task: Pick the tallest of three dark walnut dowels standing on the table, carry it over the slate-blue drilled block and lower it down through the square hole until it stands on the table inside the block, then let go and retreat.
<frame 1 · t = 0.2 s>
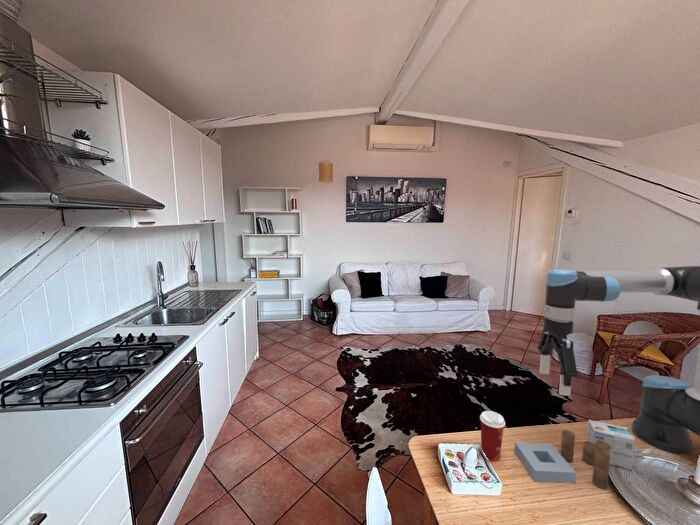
hand: (553, 383, 93), 27 cm above the table, fingers open, 13 cm apart
tall walnut dowel: (599, 484, 88), on the table
light bulb box: (607, 458, 98), on the table
paper cup: (490, 455, 99), on the table
short walnut dowel: (589, 461, 96), on the table
medium walnut dowel: (566, 458, 98), on the table
drilled block: (542, 466, 94), on the table
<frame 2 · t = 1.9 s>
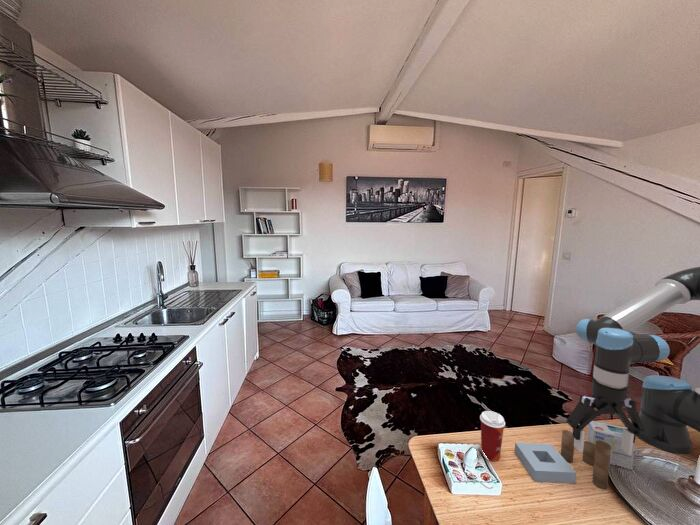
hand: (601, 450, 86), 11 cm above the table, fingers open, 13 cm apart
nothing on the table moved.
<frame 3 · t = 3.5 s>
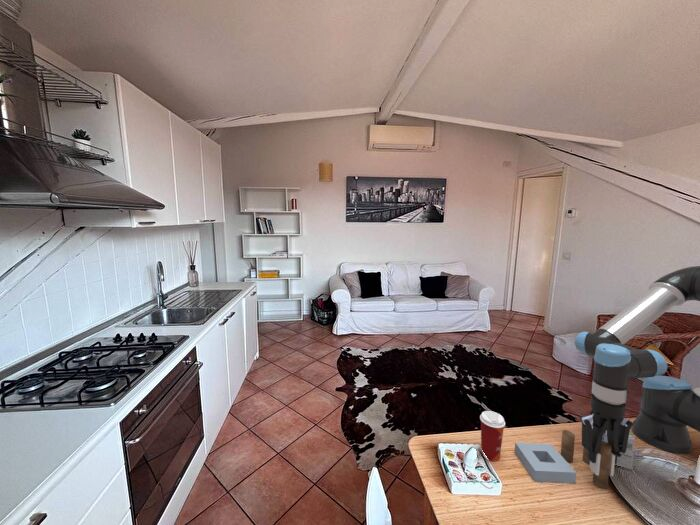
hand: (601, 471, 87), 4 cm above the table, fingers closed on tall walnut dowel, 3 cm apart
tall walnut dowel: (600, 484, 88), on the table, touching gripper
everything else where it was.
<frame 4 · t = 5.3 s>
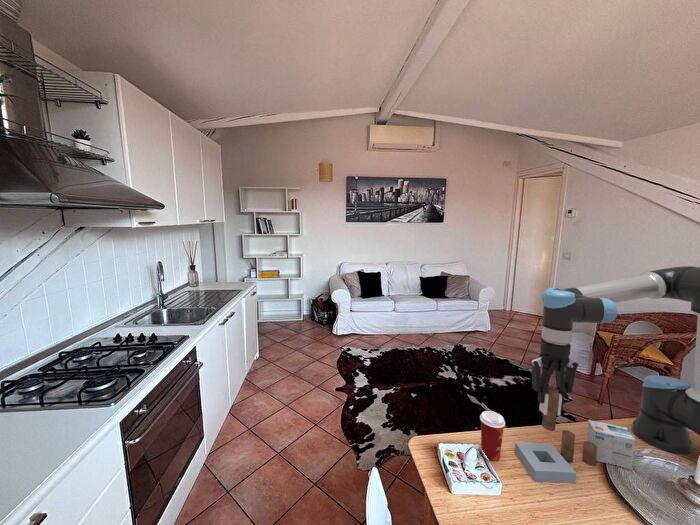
hand: (549, 412, 92), 19 cm above the table, fingers closed on tall walnut dowel, 3 cm apart
tall walnut dowel: (548, 427, 92), point 14 cm above the table, touching gripper
everything else where it was.
when the fingers open (6 cm above the table, at t = 7.4 s): tall walnut dowel stays where it is, on the table.
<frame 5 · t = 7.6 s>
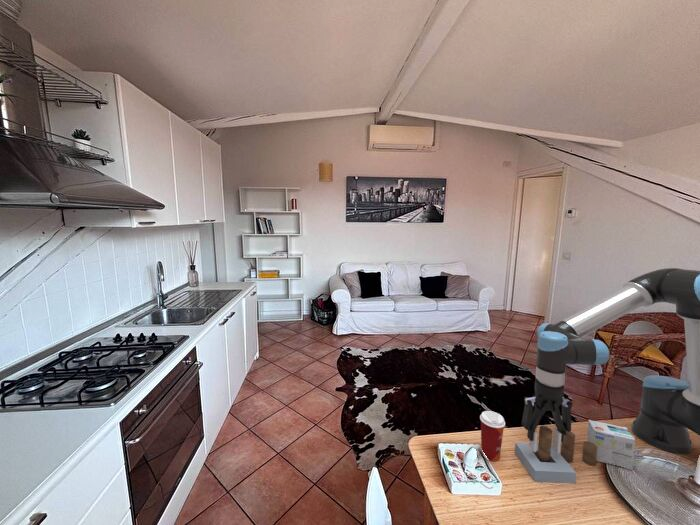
hand: (544, 449, 94), 6 cm above the table, fingers open, 7 cm apart
tall walnut dowel: (543, 466, 94), on the table
everything else where it was.
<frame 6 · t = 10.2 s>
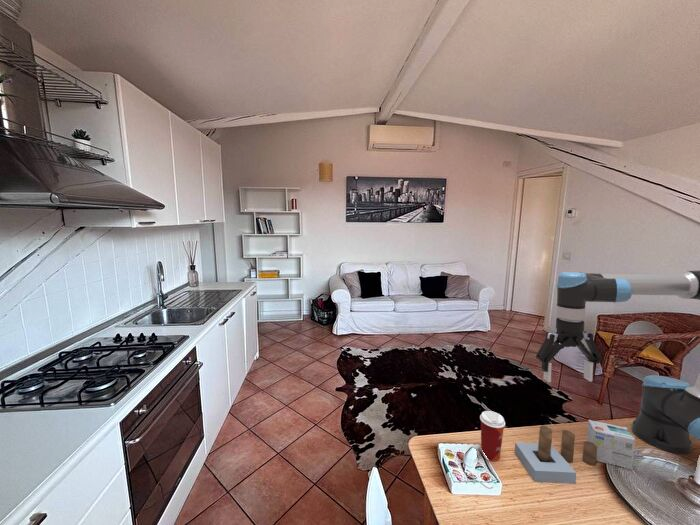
hand: (567, 380, 99), 26 cm above the table, fingers open, 13 cm apart
nothing on the table moved.
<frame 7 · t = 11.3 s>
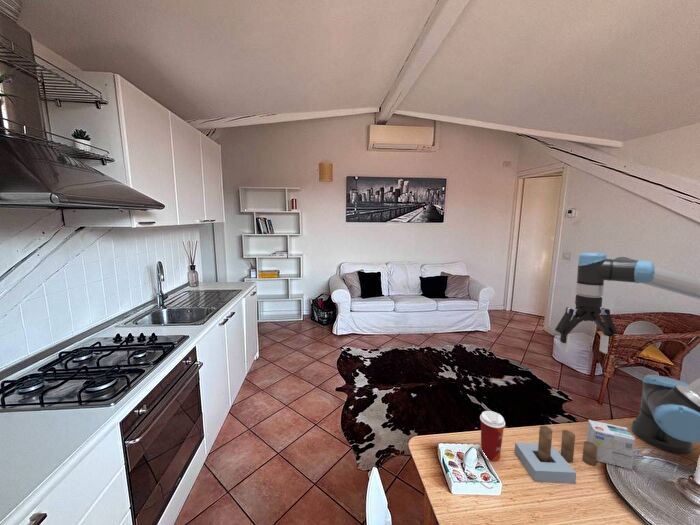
hand: (584, 351, 108), 32 cm above the table, fingers open, 13 cm apart
nothing on the table moved.
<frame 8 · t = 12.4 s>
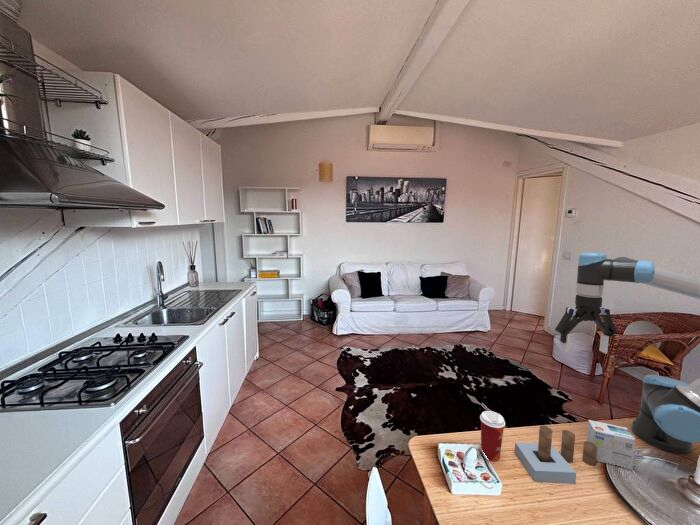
hand: (584, 351, 108), 32 cm above the table, fingers open, 13 cm apart
nothing on the table moved.
at the end: tall walnut dowel 0.1 cm off-centre on the drilled block, point 0.0 cm above the drilled block's base; tall walnut dowel tilted 0°; medium walnut dowel moved 0.0 cm from its start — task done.
